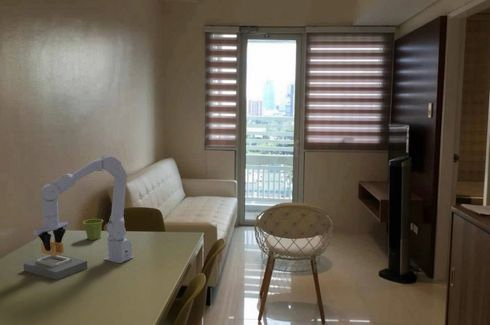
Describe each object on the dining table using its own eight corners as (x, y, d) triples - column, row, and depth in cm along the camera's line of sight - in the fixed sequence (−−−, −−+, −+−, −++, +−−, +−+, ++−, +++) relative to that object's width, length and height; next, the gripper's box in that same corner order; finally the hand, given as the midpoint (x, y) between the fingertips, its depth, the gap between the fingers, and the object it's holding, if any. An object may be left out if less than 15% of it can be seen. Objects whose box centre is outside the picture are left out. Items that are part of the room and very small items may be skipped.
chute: (63, 253, 172) (63, 243, 172) (54, 256, 169) (54, 246, 169) (50, 250, 177) (50, 240, 176) (41, 253, 173) (41, 243, 173)
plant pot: (100, 241, 210) (99, 223, 209) (80, 241, 211) (79, 223, 210) (106, 235, 220) (105, 218, 219) (88, 235, 220) (87, 219, 219)
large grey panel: (87, 268, 174) (86, 258, 173) (56, 280, 162) (56, 269, 161) (55, 260, 184) (54, 250, 183) (24, 270, 172) (23, 260, 171)
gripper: (60, 210, 179) (62, 242, 181) (27, 217, 167) (29, 252, 168) (71, 212, 176) (73, 244, 177) (38, 220, 163) (41, 255, 165)
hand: (52, 248), depth 172 cm, fingers closed on chute, 4 cm apart
